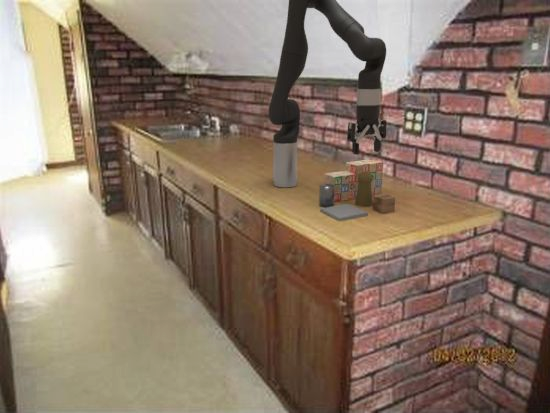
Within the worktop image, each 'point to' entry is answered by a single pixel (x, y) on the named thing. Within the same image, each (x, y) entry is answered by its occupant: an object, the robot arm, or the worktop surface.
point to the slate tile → (343, 212)
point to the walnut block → (383, 203)
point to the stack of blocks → (355, 179)
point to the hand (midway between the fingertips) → (366, 152)
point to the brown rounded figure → (364, 190)
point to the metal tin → (326, 195)
